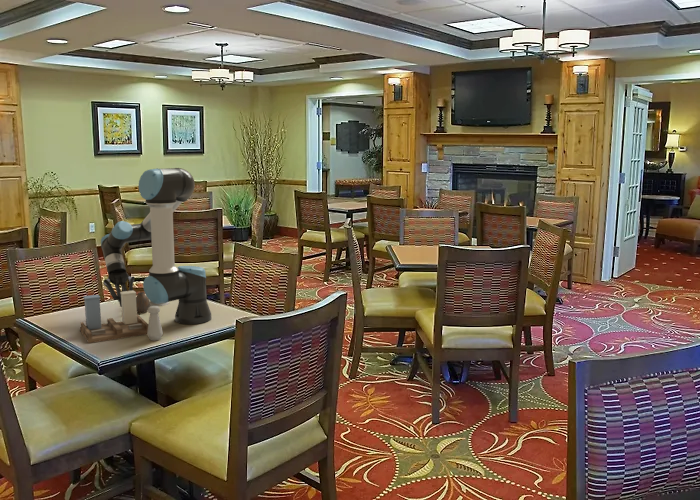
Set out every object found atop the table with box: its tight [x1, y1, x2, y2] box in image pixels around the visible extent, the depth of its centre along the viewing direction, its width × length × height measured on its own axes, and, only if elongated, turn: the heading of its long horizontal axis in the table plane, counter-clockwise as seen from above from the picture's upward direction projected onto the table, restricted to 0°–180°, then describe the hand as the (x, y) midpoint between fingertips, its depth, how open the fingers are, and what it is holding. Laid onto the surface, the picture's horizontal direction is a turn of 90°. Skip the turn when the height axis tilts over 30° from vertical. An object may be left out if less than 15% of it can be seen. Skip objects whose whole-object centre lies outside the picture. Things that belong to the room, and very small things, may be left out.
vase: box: [136, 291, 150, 314], centre depth 279 cm, size 7×7×9 cm
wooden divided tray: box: [80, 314, 149, 344], centre depth 249 cm, size 18×23×4 cm
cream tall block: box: [120, 289, 138, 324], centre depth 256 cm, size 4×5×13 cm
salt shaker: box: [146, 306, 164, 342], centre depth 240 cm, size 6×6×13 cm
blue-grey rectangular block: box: [83, 294, 102, 330], centre depth 248 cm, size 4×5×13 cm
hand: (126, 312), depth 260 cm, fingers closed
